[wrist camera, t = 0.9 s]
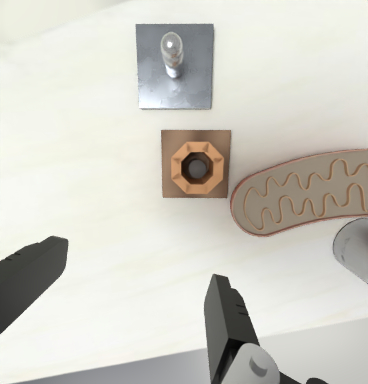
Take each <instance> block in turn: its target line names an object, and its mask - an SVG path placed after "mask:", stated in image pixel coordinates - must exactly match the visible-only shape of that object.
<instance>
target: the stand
mask: <svg viewBox="0 0 368 384" xmlns="http://www.w3.org/2000/svg"><path fill="white" fill-rule="evenodd" d="M230 138H231V130H161V143H162V189H163V198H227V191H228V173H229V156H230ZM186 142H210V144H211V145H212V146H213V147H214V148H215V149H216V150H217V151H218V152H219V153H220V154H221V155H222V156H223V158H224V164H223V180H222V181H221V182H219V183H218V184H217V185H216V186H215V187H214V188H213V189H212V190H211V191H210V192H209V193H208V194H186V193H185V192H184V191H183V190H182V189H181V188H180V187H179V186H178V185H177V184H176V183H175V182H174V181H173V180H172V179H171V157H172V156H173V155H174V154H175V153H176V152H177V151H178V150H179V149H180V148H181V147H182V146H183V145H184V144H185V143H186ZM182 171H183V172H184V173H185V174H186V175H187V176H188V177H189V178H190V179H201V178H202V177H203V176H204V175H205V174H206V173H207V172H208V171H209V159H208V158H207V157H206V156H205V155H204V154H203V153H202V152H190V153H189V154H188V155H187V156H186V157H185V158H184V159H183V160H182Z"/></svg>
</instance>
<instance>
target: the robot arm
mask: <svg viewBox="0 0 368 384" xmlns="http://www.w3.org/2000/svg"><path fill="white" fill-rule="evenodd" d="M67 251H68V240H67V239H65V238H60V237H56V236H50V237H48V238H47V239H45V240H43V241H42V242H40V243H35V244H32V245H28V246H25V247H23V248H22V249H20V250H18V251H17V252H15V253H14V254H11V255H10V256H8V257H6V258H5V260H4V259H3V260H1V261H0V334H1V333H2V332H3V331H4V330H5V329H6V328H7V327H8V326H9V325H10V324H12V323H13V322H14V321H15V320H16V319H17V318H18V317H19V316H20V315H21V314H22V313H23V312H24V311H25V310H26V309H27V308H28V307H29V306H30V305H31V304H32V303H33V302H34V301H35V300H36V299H37V298H38V297H39V296H40V295H41V294H42V293H43V292H44V291H45V290H46V289H48V288H49V287H50V286H51V285H52V284H53V283H54V282H55V281H56V280H57V279H58V278H59V277H60V276H61V274H62V273H63V271H64V269H65V266H66V260H67ZM333 251H334V255H335V257H336V259H337V260H338V262H339V263H341V264H342V265H343V266H345V267H346V268H347V269H349V270H350V271H351V272H353V273H354V274H355V275H357V276H358V277H359V278H361V279H362V280H363V281H365V282H366V283H367V284H368V218H363V219H358V220H355V221H353V222H351V223H349V224H347V225H346V226H345V227H344V228H343V229H342V230H341V231H340V232H339V233H338V235H337V237H336V238H335V241H334V246H333ZM204 315H205V326H206V337H207V348H208V357H209V369H210V379H211V384H301V383H299V382H297V381H295V380H293V379H292V378H290V377H288V376H286V375H284V374H283V373H281V372H280V371H279V369H278V367H277V365H276V363H275V361H274V360H273V358H272V357H271V356H270V355H269V354H268V353H267V352H266V351H265V350H264V349H263V348H261V347H260V345H259V342H258V339H257V336H256V333H255V331H254V328H253V325H252V322H251V320H250V317H249V316H248V315H249V314H248V311H247V309H246V306H245V303H244V300H243V298H242V296H241V295H240V294H239V292H238V291H237V290H236V289H233V288H231V286H230V283H229V280H228V277H225V276H221V275H217V274H213V276H212V278H211V281H210V284H209V288H208V291H207V294H206V297H205V302H204ZM306 384H328V383H326V382H325V381H323V380H321V379H318V378H310V379H308V380H307V382H306Z"/></svg>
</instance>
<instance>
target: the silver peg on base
mask: <svg viewBox="0 0 368 384" xmlns="http://www.w3.org/2000/svg"><path fill="white" fill-rule="evenodd" d="M136 43H137V65H138V87H139V108H140V109H210V108H211V84H212V54H213V24H136Z"/></svg>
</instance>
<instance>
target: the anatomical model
mask: <svg viewBox="0 0 368 384" xmlns="http://www.w3.org/2000/svg"><path fill="white" fill-rule="evenodd" d="M230 209H231V213H232V216H233V219H234V221H235V222H236V224H237V225H238V226H239V227H240V228H241V229H242V230H243V231H244V232H246V233H248V234H250V235H253V236H257V237H269V236H272V235H275V234H278V233H281V232H284V231H287V230H290V229H293V228H296V227H300V226H303V225H307V224H311V223H316V222H320V221H326V220H332V219H341V218H352V217H368V149H355V150H343V151H336V152H328V153H323V154H317V155H312V156H307V157H303V158H299V159H295V160H292V161H289V162H285V163H282V164H279V165H277V166H274V167H271V168H269V169H266V170H263V171H261V172H258V173H255V174H253V175H250V176H248V177H246V178H245V179H243V180H242V181H241V182H240V183H239V184H238V185H237V186H236V188H235V189H234V191H233V193H232V196H231V201H230Z"/></svg>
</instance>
